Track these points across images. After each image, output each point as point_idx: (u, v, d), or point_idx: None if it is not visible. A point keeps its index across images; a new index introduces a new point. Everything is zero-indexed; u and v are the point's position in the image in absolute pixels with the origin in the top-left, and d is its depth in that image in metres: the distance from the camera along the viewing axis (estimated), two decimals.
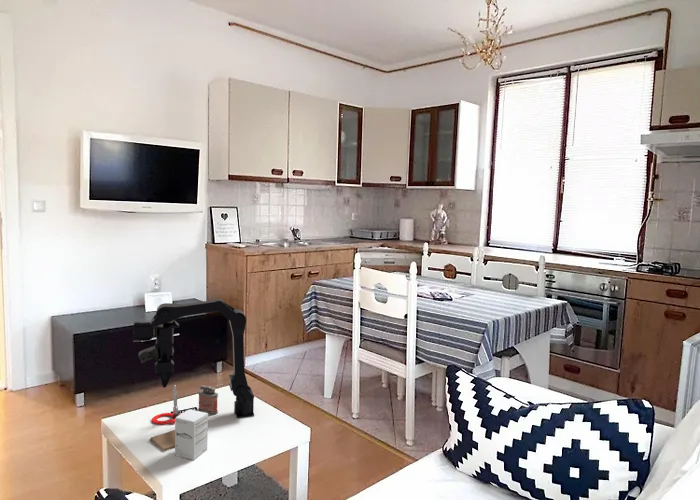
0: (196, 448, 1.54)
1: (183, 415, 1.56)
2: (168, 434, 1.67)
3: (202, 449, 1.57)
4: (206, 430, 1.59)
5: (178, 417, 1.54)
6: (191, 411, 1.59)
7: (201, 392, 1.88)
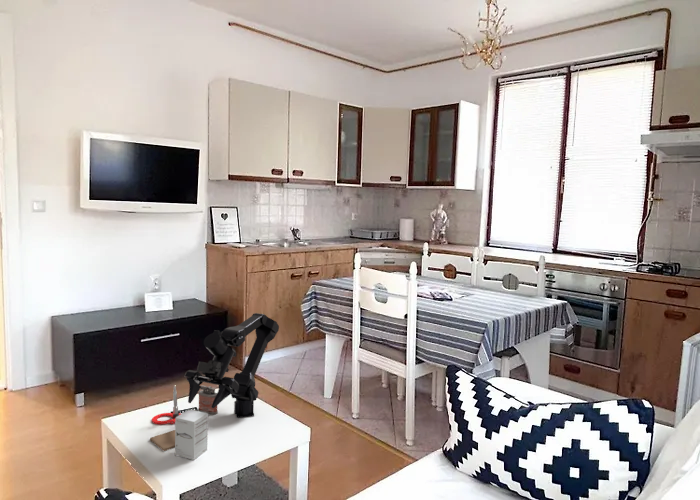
0: (196, 448, 1.54)
1: (183, 415, 1.56)
2: (168, 434, 1.67)
3: (202, 449, 1.57)
4: (206, 430, 1.59)
5: (178, 417, 1.54)
6: (191, 411, 1.59)
7: (201, 392, 1.88)
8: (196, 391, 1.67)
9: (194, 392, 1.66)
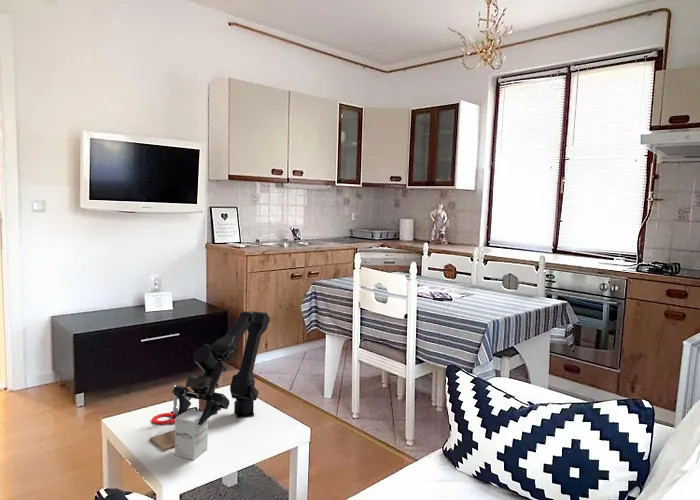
0: (196, 448, 1.54)
1: (183, 415, 1.56)
2: (168, 434, 1.67)
3: (202, 449, 1.57)
4: (206, 430, 1.59)
5: (178, 417, 1.54)
6: (191, 411, 1.59)
7: None
8: (186, 408, 1.60)
9: (184, 409, 1.59)
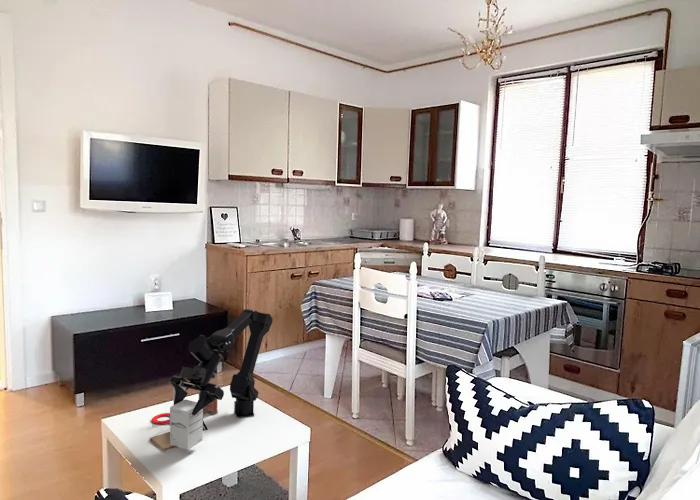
0: (190, 438, 1.55)
1: (178, 405, 1.57)
2: (168, 434, 1.67)
3: (196, 439, 1.58)
4: (201, 420, 1.59)
5: (172, 407, 1.56)
6: (186, 401, 1.60)
7: None
8: (182, 398, 1.62)
9: (179, 398, 1.60)
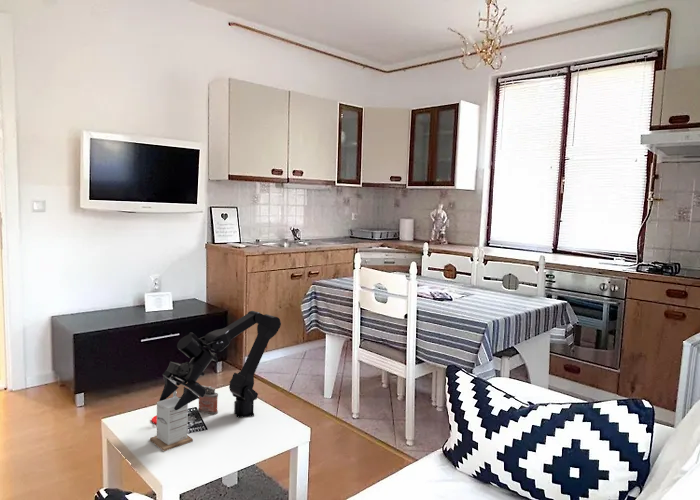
0: (172, 434, 1.61)
1: (165, 401, 1.64)
2: None
3: (179, 436, 1.63)
4: (186, 418, 1.64)
5: (159, 402, 1.63)
6: (175, 398, 1.66)
7: None
8: (171, 391, 1.69)
9: (168, 391, 1.68)
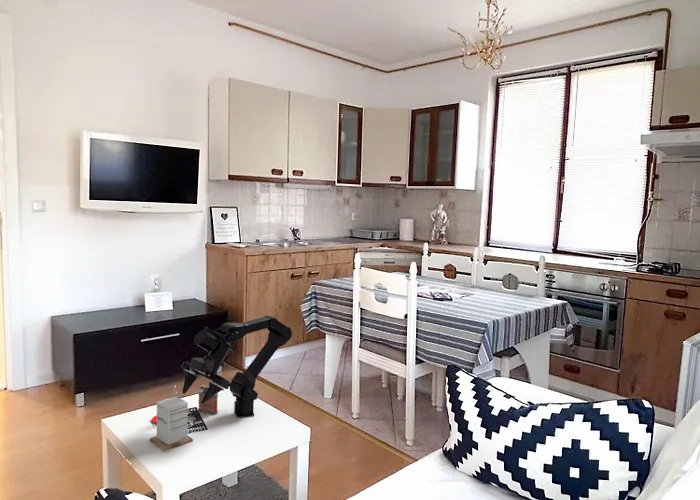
0: (172, 434, 1.61)
1: (165, 401, 1.64)
2: None
3: (179, 436, 1.63)
4: (186, 418, 1.64)
5: (159, 402, 1.63)
6: (175, 398, 1.66)
7: (201, 392, 1.88)
8: (191, 382, 1.75)
9: (189, 383, 1.74)
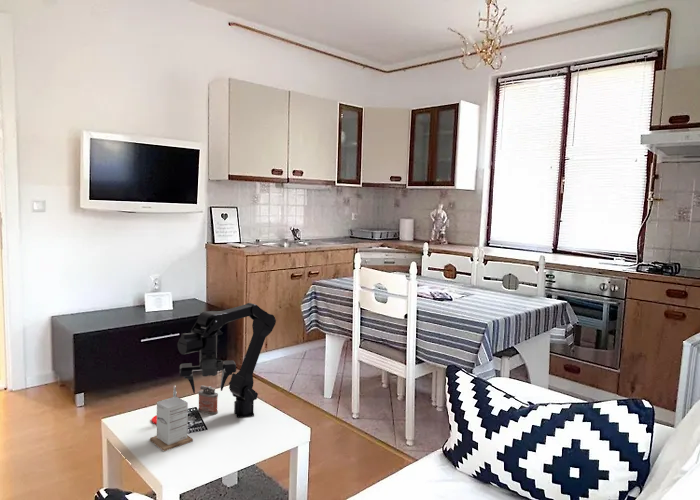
0: (172, 434, 1.61)
1: (165, 401, 1.64)
2: None
3: (179, 436, 1.63)
4: (186, 418, 1.64)
5: (159, 402, 1.63)
6: (175, 398, 1.66)
7: (201, 392, 1.88)
8: None
9: None
